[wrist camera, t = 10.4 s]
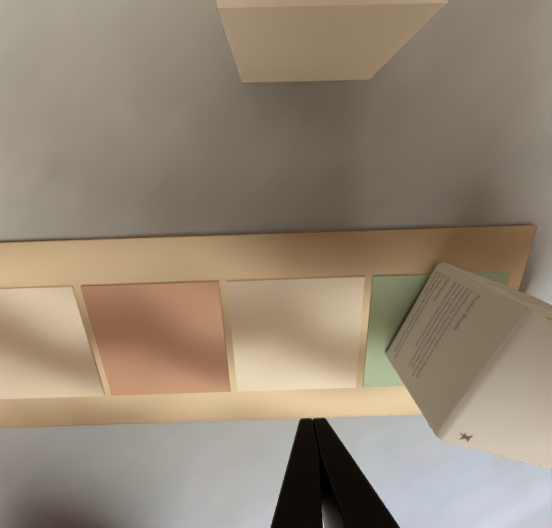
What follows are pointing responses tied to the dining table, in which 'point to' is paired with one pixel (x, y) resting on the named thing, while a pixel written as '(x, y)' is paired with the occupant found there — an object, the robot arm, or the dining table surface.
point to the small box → (480, 364)
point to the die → (319, 36)
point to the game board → (223, 322)
